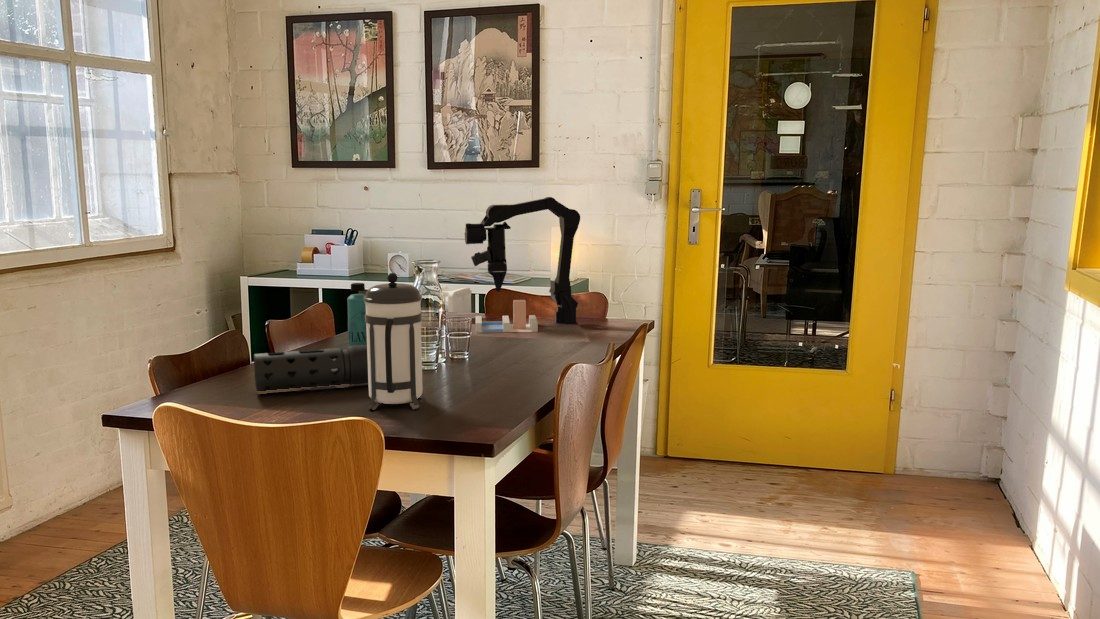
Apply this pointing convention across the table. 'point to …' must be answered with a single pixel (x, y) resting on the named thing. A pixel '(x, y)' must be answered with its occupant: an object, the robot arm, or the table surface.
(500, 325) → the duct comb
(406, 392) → the coffee press
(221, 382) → the table surface
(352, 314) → the beverage bottle
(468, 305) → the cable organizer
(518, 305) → the pinkish tan block
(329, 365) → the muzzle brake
